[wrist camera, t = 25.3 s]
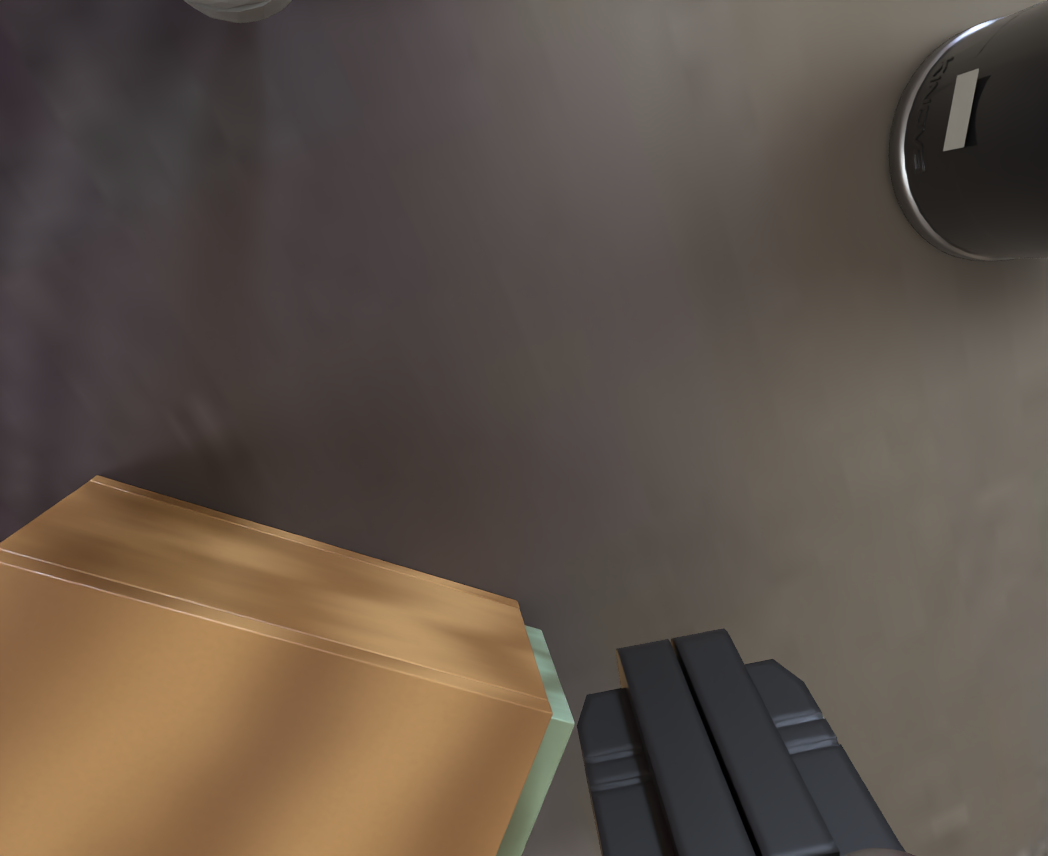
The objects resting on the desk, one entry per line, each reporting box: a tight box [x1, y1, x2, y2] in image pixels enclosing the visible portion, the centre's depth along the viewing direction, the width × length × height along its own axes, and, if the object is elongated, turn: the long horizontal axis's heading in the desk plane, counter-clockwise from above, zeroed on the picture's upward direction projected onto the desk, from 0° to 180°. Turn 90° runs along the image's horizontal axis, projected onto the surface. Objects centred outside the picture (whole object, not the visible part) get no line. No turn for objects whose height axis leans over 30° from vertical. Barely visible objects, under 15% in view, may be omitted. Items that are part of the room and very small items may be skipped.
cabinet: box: [0, 475, 553, 856], centre depth 30 cm, size 18×15×9 cm
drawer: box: [496, 625, 575, 856], centre depth 31 cm, size 18×13×7 cm
